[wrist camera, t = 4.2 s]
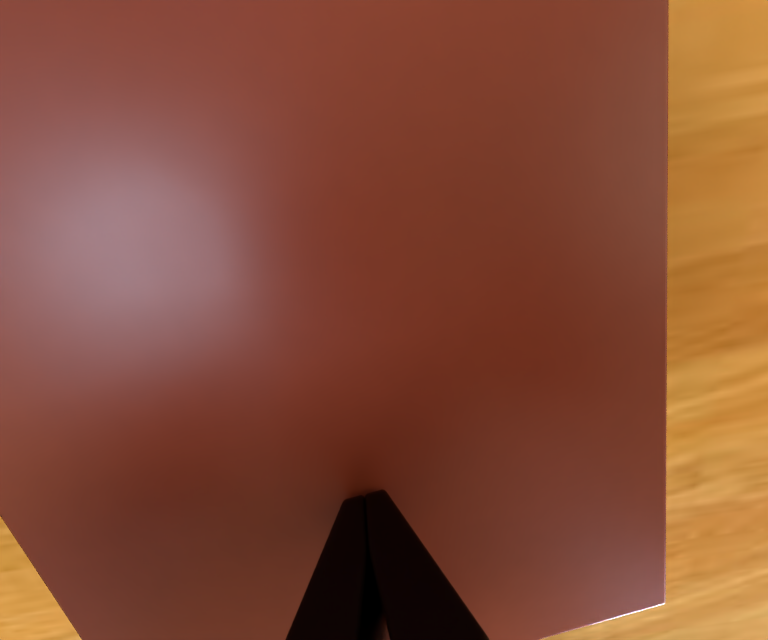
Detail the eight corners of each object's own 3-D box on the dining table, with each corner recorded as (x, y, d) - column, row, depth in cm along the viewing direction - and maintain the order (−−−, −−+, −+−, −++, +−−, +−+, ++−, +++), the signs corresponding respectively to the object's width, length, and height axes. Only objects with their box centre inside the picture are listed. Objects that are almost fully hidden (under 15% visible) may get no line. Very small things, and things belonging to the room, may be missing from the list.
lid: (643, 575, 10) (666, 604, 10) (167, 708, 10) (153, 751, 9) (626, -305, 5) (673, -387, 5) (-344, -127, 5) (-469, -187, 4)
